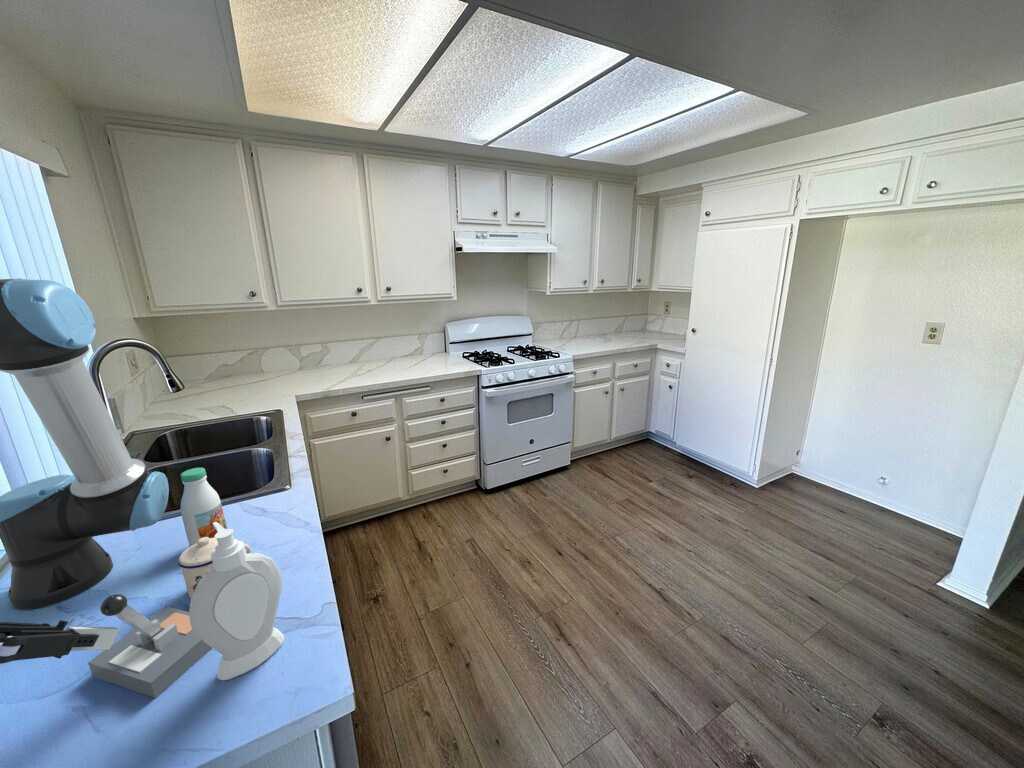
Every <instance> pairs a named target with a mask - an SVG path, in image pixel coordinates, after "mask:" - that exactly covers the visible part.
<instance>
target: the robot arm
mask: <svg viewBox="0 0 1024 768" xmlns="http://www.w3.org/2000/svg"><path fill="white" fill-rule="evenodd" d="M94 325H96V322H95V318H94V316H93V313H92V311H91V309H90V307H89V306H88V304H87V303H86V302H85V300H84V299H83V298H82V297H81V296H80V295H79V294H78V293H77V292H76V291H74V290H73V289H72V288H70V287H68V286H66V285H64V284H63V283H60V282H57V281H53V280H48V279H28V278H21V277H19V278H18V277H17V278H3V279H2V278H0V372H3V373H7V374H10V375H13V376H14V377H15V379H16V380H17V382H18V384H19V386H20V387H21V389H22V391H23V392H24V394H25V396H26V397H27V399H28V402H30V404H31V406H32V408H33V409H34V411H35V412H36V414H37V416H38V417H39V420H40V421H41V422H42V425H44V428H45V429H46V431H47V433H48V434H49V437H50V438H51V439H52V441H53V443H54V445H55V446H56V447H57V450H58V451H59V453H60V455H61V457H62V458H63V459H64V460H63V461H65V463H66V465H67V467H68V468H69V470H70V472H71V473H72V475H70V474H66V473H65V474H58V475H54V476H53V475H52V476H49V477H46V478H42V479H41V478H40V479H39V480H35V481H32V482H29V483H26V484H23V485H22V486H18V487H16V488H14V489H12V490H11V489H10V490H9V491H7V492H5V493H4V494H2V495H0V541H1V543H2V547H3V549H4V551H5V553H6V556H7V558H8V560H9V562H10V566H11V574H10V587H9V589H8V593H7V596H8V600H9V602H10V605H11V606H12V608H14V609H17V610H21V611H22V610H25V611H26V610H35V609H39V608H44V607H47V606H52V605H55V604H57V603H61V602H63V601H66V600H68V599H70V598H72V597H75V596H78V595H79V594H81V593H83V592H86V590H89V589H91V588H93V587H94V586H95V585H97V584H99V583H100V582H101V581H102V580H103V579H104V578H106V577H107V576H108V575H109V574H110V573H111V572H112V570H113V567H114V562H113V559H112V557H111V555H110V553H109V552H107V551H106V550H105V549H104V548H103V547H102V545H100V544H99V543H98V541H96V540H95V539H94V538H93V537H96V536H105V535H110V534H117V533H122V532H128V531H131V532H133V531H136V530H138V529H139V530H140V529H143V528H148V527H151V526H153V525H155V524H157V523H158V522H159V521H160V519H161V518H162V517H163V515H164V513H165V512H166V508H167V506H168V501H169V493H170V488H169V487H170V485H169V482H168V481H169V480H168V477H167V476H166V474H165V473H163V472H162V471H161V472H160V471H157V470H155V471H152V472H149V471H148V468H147V466H146V464H145V462H143V461H142V460H141V459H138V458H132V457H131V456H130V453H129V451H128V449H127V447H126V445H125V442H124V440H123V439H122V436H121V435H120V432H119V431H118V428H117V427H116V424H115V423H114V420H113V418H112V417H111V414H110V412H109V411H108V408H107V406H106V404H105V402H104V400H103V399H102V397H101V394H100V392H99V390H98V388H97V386H96V385H95V382H94V381H93V378H92V376H91V374H90V372H89V370H88V368H87V366H86V364H85V362H84V358H85V357H86V356H87V355H88V354H89V352H90V347H89V346H88V345H90V344H91V343H92V342H93V341H94V339H95V337H96V332H97V329H96V328H95V327H94ZM73 476H74V477H73ZM68 623H69V621H68V620H59V621H58V623H57V624H56V625H55V626H52V625H51V623H46V622H44V623H32V622H31V623H30V622H11V621H10V622H9V621H8V622H7V621H0V664H7V663H10V662H14V661H15V662H16V661H23V660H32V659H41V658H43V659H45V658H51V657H53V658H56V659H62V657H65V656H68V655H69V654H70V653H71V652H80V651H104V650H109V649H110V648H111V646H112V645H113V644H114V643H115V641H116V640H117V637H118V635H119V633H120V631H121V630H122V629H121V628H118V627H115V626H67V625H68ZM66 626H67V628H66Z"/></svg>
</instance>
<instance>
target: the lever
mask: <svg viewBox="0 0 1024 768" xmlns="http://www.w3.org/2000/svg"><path fill="white" fill-rule="evenodd" d="M100 613H101V614H102V615H104V616H106V617H113V616H115V617H116V618H118V619H119V620H121V621H122V622H124V624H127V625H128V626H130V627H131V628H133V630H134V629H136V630H137V631H138V632H140V633H141V634H143V635H144V636H146V637H147V640H149V641H153V638H154V637H155V636H156V635H158V634H159V633H160V632H162V631H163V630H162V629H161V628H159V627H158V626H157V625H155V624H154V623H152V622H151V621H150V620H148V619H149V618H147V617H145V616H144V615H143V614H142V613H140V612H139V611H137V610H136V609H134V608H133V607H132V606H130V605H129V604H128V599H127V597H126V596H125V595H124V594H121V593H117V594H116V593H115V594H112V595H110V596H108V597H106V598H105V599H104V600H103V601H102V603H101V604H100ZM153 642H154V641H153Z"/></svg>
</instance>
